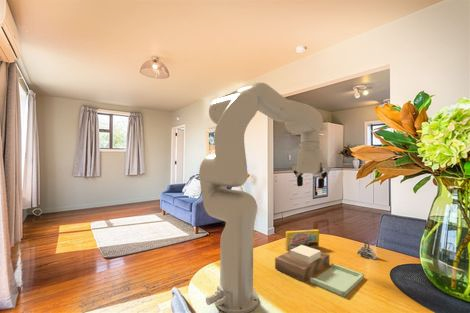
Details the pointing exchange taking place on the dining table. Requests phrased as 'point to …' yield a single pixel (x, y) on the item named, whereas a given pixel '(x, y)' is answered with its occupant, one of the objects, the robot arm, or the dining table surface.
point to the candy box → (302, 238)
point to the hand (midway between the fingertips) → (310, 187)
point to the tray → (338, 280)
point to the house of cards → (367, 251)
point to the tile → (305, 254)
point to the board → (301, 266)
